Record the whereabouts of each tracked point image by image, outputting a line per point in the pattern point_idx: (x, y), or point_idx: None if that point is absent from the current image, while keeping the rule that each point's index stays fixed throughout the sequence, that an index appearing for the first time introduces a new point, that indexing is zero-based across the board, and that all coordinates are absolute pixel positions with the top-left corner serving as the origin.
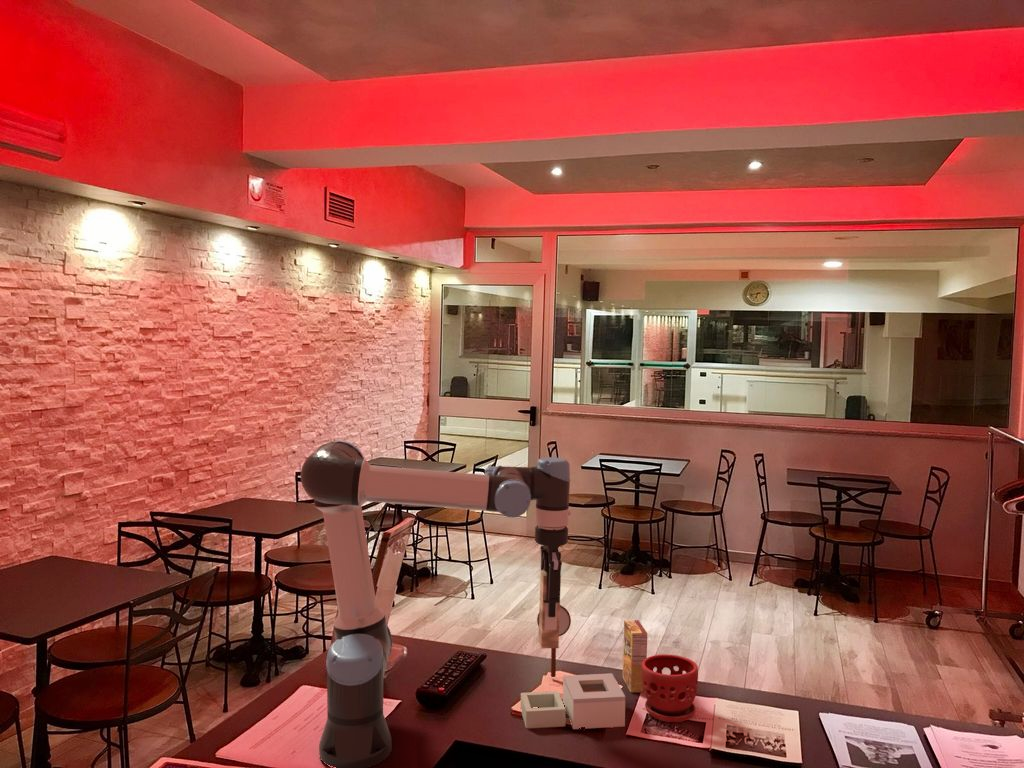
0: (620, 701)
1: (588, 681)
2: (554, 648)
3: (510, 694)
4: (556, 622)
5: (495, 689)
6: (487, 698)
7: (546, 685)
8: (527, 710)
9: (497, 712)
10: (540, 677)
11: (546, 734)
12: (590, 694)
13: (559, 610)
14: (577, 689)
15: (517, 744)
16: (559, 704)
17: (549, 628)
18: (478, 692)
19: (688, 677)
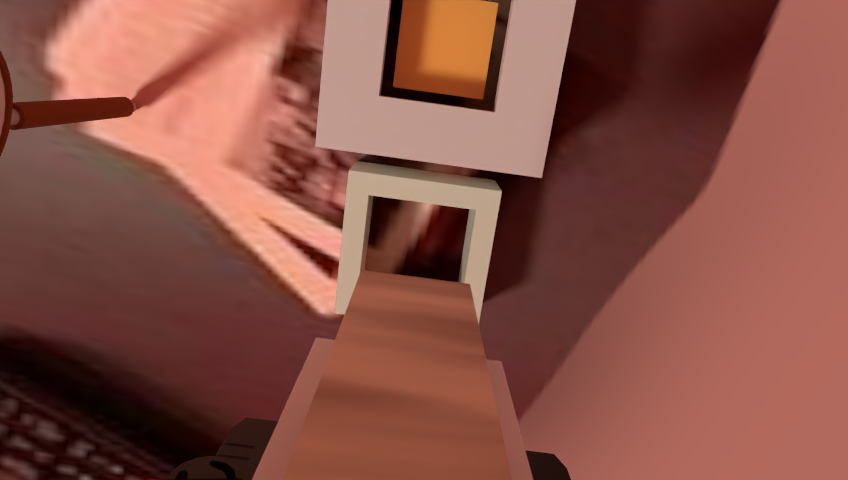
0: None
1: (384, 44)
2: (57, 112)
3: (230, 294)
4: (508, 393)
5: (184, 333)
6: (246, 372)
7: (177, 147)
8: None
9: None
10: (105, 149)
11: (526, 256)
12: (522, 89)
13: (498, 417)
14: (461, 130)
15: (555, 356)
16: (458, 201)
17: None
18: (199, 390)
19: None
